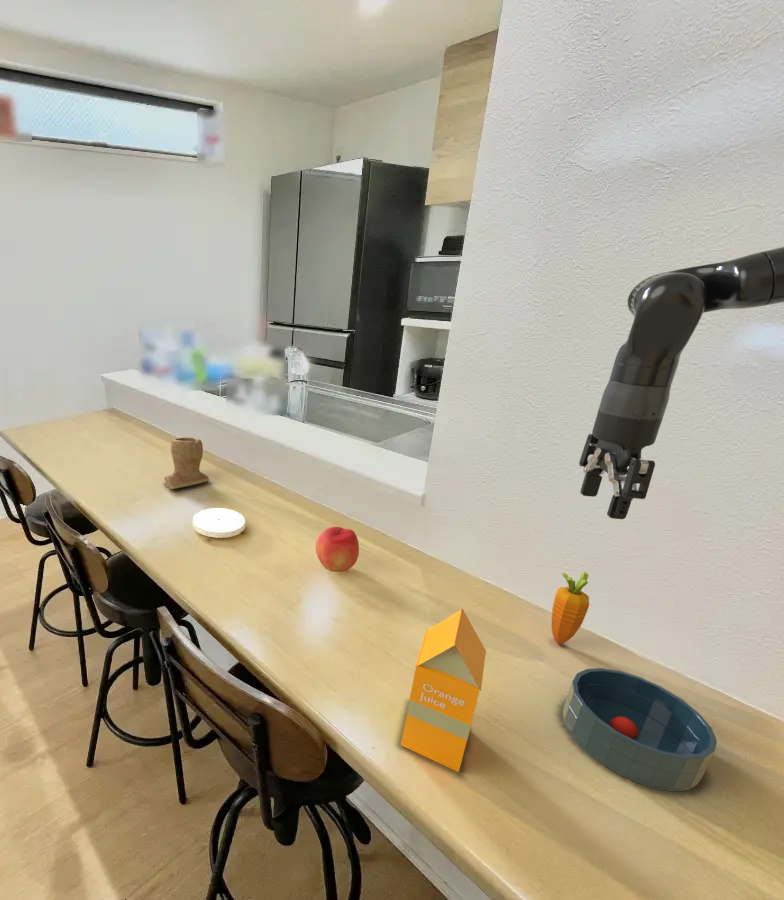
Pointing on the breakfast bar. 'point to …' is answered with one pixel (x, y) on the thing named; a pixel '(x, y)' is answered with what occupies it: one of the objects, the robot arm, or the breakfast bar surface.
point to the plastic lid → (218, 522)
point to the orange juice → (445, 691)
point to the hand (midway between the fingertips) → (601, 506)
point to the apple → (337, 548)
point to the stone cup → (186, 463)
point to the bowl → (639, 729)
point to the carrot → (569, 609)
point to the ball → (624, 727)
